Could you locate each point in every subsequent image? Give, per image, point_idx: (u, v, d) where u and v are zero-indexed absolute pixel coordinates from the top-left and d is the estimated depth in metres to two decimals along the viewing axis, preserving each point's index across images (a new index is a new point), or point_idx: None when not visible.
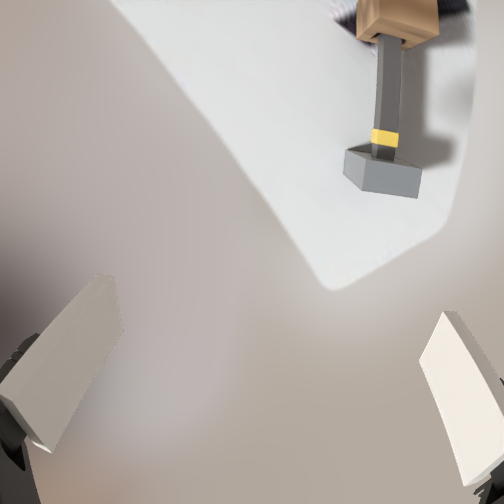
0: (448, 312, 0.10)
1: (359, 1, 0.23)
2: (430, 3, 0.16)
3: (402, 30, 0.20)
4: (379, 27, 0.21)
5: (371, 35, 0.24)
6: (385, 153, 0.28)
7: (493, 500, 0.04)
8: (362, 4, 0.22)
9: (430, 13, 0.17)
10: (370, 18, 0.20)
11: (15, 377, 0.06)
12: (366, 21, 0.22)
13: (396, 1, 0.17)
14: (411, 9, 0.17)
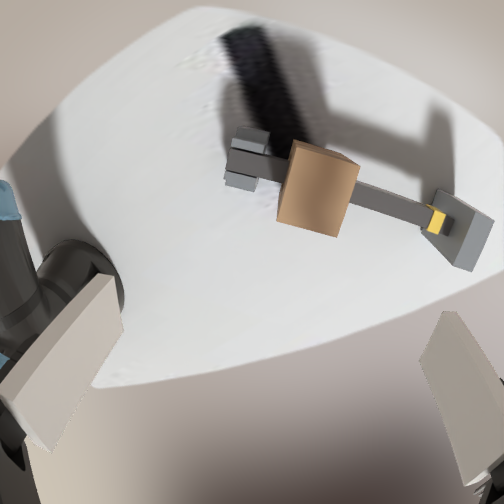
0: (448, 312, 0.10)
1: None
2: (315, 162, 0.22)
3: None
4: None
5: None
6: (447, 227, 0.27)
7: (493, 500, 0.04)
8: None
9: (330, 168, 0.22)
10: None
11: (15, 377, 0.06)
12: None
13: (316, 210, 0.23)
14: (327, 194, 0.23)
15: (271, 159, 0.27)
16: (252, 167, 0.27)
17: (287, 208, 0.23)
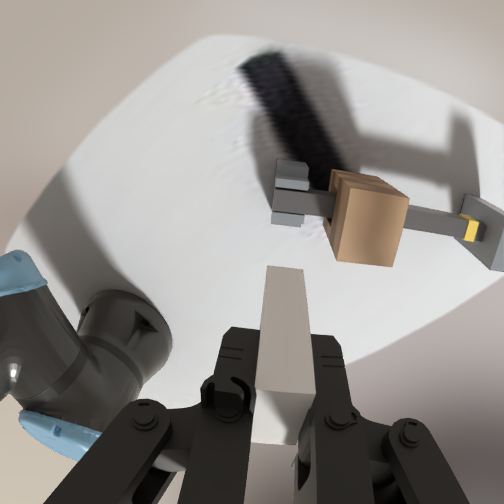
0: (291, 268, 0.13)
1: None
2: (369, 200, 0.22)
3: None
4: None
5: None
6: (480, 233, 0.27)
7: None
8: None
9: (383, 204, 0.22)
10: None
11: (269, 369, 0.07)
12: None
13: (372, 245, 0.23)
14: (381, 229, 0.23)
15: (317, 195, 0.27)
16: (299, 205, 0.27)
17: (345, 247, 0.23)
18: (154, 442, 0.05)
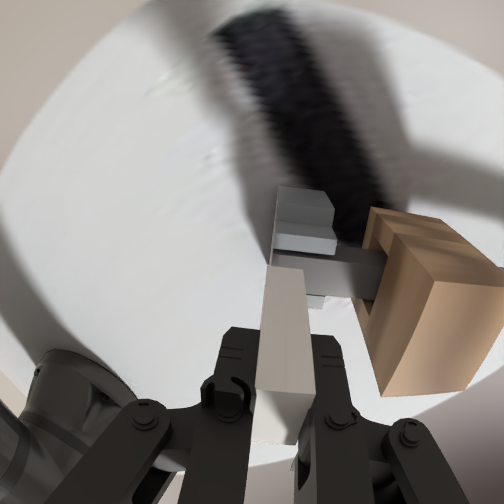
0: (291, 269, 0.13)
1: None
2: (461, 302, 0.09)
3: None
4: None
5: None
6: None
7: None
8: None
9: (482, 305, 0.09)
10: None
11: (269, 369, 0.07)
12: None
13: (446, 369, 0.11)
14: (466, 345, 0.10)
15: (351, 264, 0.14)
16: (317, 281, 0.15)
17: (401, 378, 0.11)
18: (154, 442, 0.05)
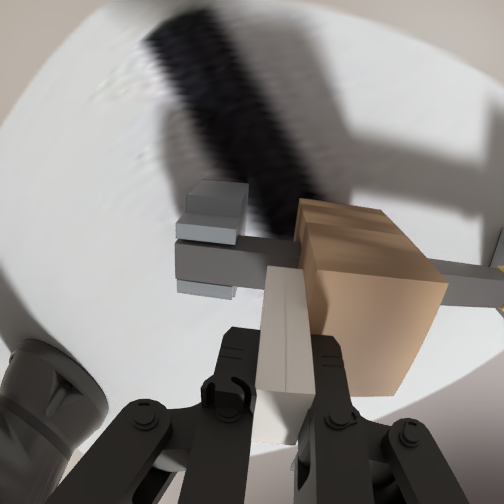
0: (291, 268, 0.13)
1: None
2: (360, 295, 0.10)
3: None
4: None
5: None
6: None
7: None
8: None
9: (392, 300, 0.10)
10: None
11: (269, 369, 0.07)
12: None
13: (360, 370, 0.11)
14: (381, 345, 0.10)
15: (252, 254, 0.15)
16: (221, 271, 0.15)
17: None
18: (154, 442, 0.05)
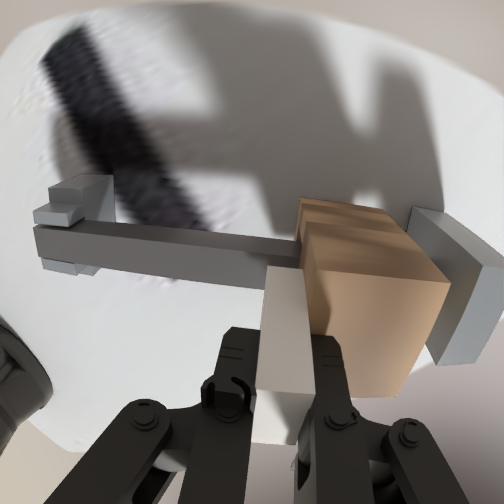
0: (291, 269, 0.13)
1: None
2: (361, 295, 0.09)
3: None
4: None
5: None
6: None
7: None
8: None
9: (393, 300, 0.09)
10: None
11: (269, 369, 0.07)
12: None
13: (361, 371, 0.11)
14: (383, 346, 0.10)
15: (79, 234, 0.15)
16: (62, 249, 0.16)
17: None
18: (154, 442, 0.05)
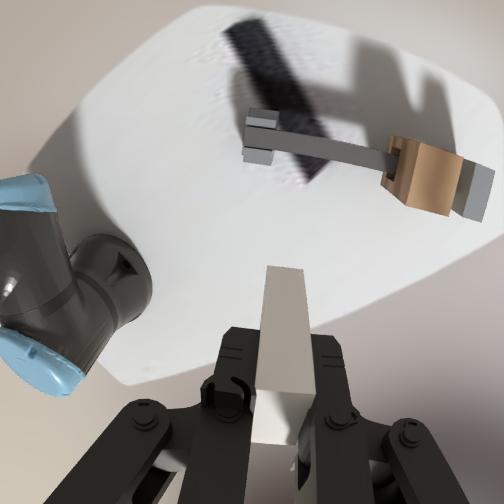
0: (291, 268, 0.13)
1: None
2: (433, 155, 0.23)
3: None
4: None
5: None
6: None
7: None
8: None
9: (444, 159, 0.23)
10: None
11: (269, 369, 0.07)
12: None
13: (434, 194, 0.24)
14: (442, 181, 0.23)
15: (283, 132, 0.28)
16: (267, 141, 0.29)
17: (413, 194, 0.24)
18: (154, 442, 0.05)
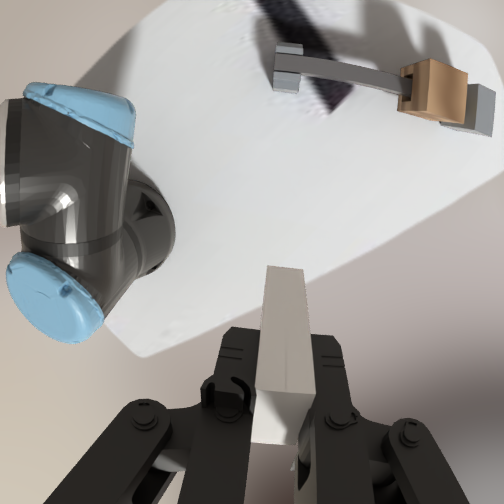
0: (291, 268, 0.13)
1: (403, 111, 0.31)
2: (443, 69, 0.22)
3: None
4: None
5: None
6: None
7: None
8: (414, 113, 0.30)
9: (452, 74, 0.22)
10: (445, 120, 0.27)
11: (269, 369, 0.07)
12: (438, 119, 0.28)
13: (449, 103, 0.24)
14: (453, 92, 0.23)
15: (310, 58, 0.28)
16: (296, 65, 0.29)
17: (431, 101, 0.24)
18: (154, 442, 0.05)
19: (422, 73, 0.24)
